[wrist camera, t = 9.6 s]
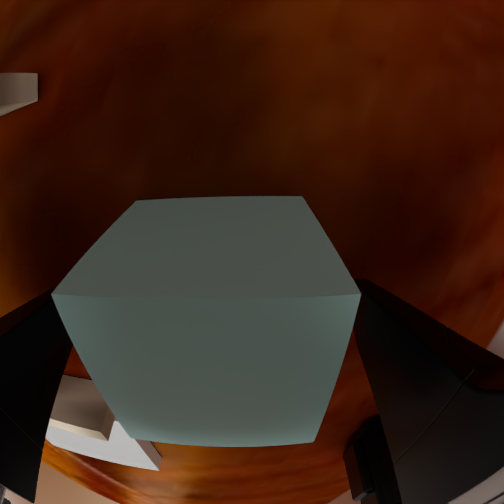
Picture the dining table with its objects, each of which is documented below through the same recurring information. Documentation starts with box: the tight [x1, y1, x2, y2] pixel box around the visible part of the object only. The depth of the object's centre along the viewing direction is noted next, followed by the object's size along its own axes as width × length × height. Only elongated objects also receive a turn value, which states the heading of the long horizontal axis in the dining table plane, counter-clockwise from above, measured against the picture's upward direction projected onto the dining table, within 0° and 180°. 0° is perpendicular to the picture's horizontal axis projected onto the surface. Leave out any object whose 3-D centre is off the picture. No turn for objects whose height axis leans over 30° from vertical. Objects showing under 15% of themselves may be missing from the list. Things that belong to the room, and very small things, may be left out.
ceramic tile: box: [45, 417, 161, 471], centre depth 15 cm, size 10×8×1 cm
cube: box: [51, 196, 361, 447], centre depth 7 cm, size 5×5×5 cm
